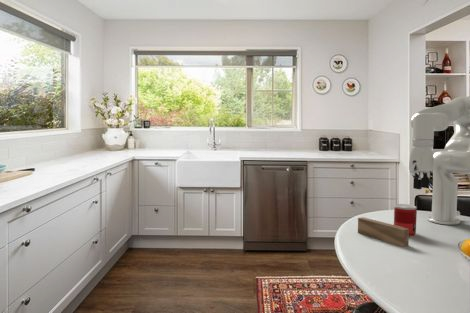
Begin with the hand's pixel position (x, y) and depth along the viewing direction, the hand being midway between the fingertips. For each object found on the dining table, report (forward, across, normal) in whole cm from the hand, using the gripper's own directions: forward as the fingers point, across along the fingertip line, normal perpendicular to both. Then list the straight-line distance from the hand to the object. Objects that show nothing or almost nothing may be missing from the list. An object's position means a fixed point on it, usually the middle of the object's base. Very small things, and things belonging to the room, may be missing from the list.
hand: (421, 187), depth 148 cm
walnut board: (+17, +24, 0) cm, 30 cm away
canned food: (+18, +10, 0) cm, 20 cm away
